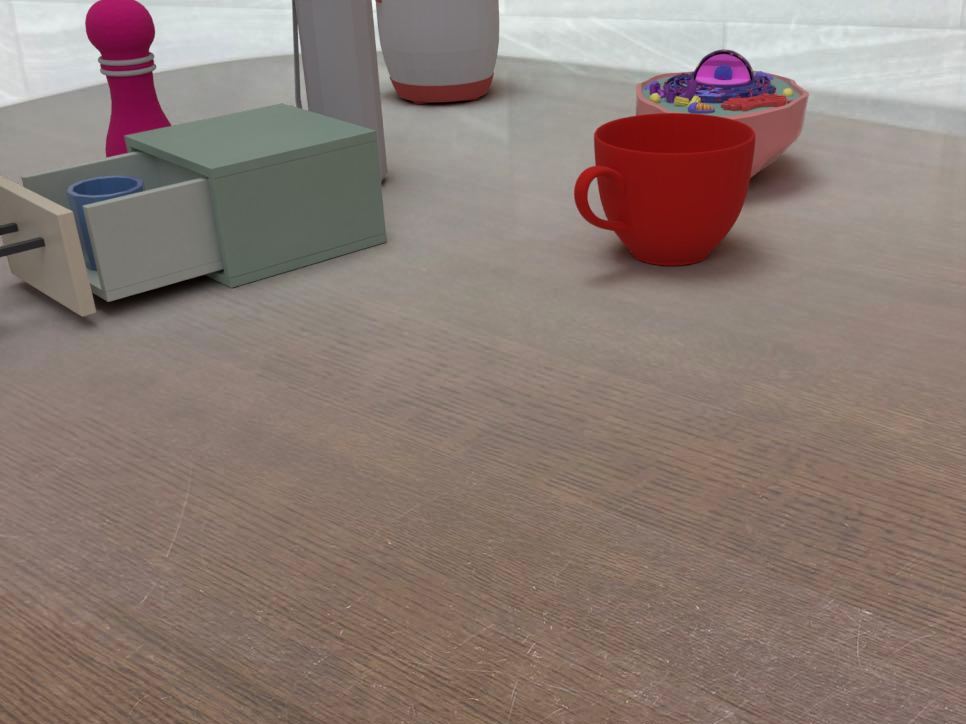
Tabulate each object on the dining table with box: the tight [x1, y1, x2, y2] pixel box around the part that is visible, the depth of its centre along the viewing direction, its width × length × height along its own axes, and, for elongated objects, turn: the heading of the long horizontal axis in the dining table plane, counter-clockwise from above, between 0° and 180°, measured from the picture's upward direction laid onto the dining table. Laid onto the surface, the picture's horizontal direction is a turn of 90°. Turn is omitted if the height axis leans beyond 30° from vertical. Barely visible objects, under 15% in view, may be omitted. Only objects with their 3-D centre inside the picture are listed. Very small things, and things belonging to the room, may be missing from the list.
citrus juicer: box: [374, 0, 500, 105], centre depth 148 cm, size 16×17×20 cm
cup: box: [67, 175, 145, 271], centre depth 96 cm, size 6×6×6 cm
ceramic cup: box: [573, 113, 755, 267], centre depth 98 cm, size 13×17×10 cm
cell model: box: [635, 48, 810, 179], centre depth 118 cm, size 17×20×11 cm
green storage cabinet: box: [124, 102, 387, 289], centre depth 104 cm, size 16×15×10 cm
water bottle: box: [291, 0, 388, 182], centre depth 115 cm, size 9×8×25 cm
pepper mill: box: [84, 0, 173, 158], centre depth 112 cm, size 7×7×20 cm
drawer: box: [0, 151, 224, 318], centre depth 95 cm, size 20×13×8 cm, turn 132°
